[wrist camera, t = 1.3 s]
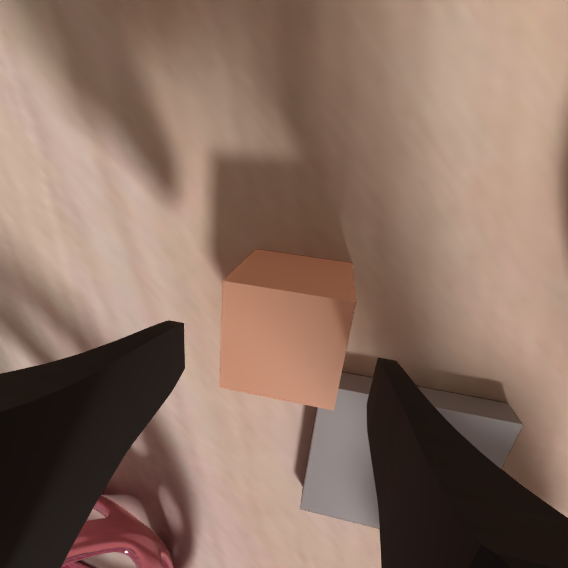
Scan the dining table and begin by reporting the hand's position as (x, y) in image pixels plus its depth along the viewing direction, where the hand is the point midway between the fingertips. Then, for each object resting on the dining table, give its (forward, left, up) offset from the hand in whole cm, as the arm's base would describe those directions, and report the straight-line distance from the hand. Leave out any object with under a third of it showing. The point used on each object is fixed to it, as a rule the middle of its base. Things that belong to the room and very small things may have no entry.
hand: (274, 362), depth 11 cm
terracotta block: (0, 0, -6) cm, 6 cm away
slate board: (-9, -7, -6) cm, 13 cm away
